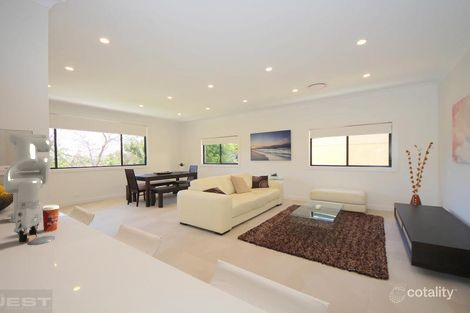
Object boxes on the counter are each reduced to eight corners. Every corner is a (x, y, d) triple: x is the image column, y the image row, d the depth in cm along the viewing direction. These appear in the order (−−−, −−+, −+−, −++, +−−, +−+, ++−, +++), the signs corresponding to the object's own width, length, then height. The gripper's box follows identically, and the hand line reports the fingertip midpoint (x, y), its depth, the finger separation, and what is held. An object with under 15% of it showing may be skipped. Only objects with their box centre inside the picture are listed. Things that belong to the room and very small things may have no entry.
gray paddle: (59, 237, 112) (59, 232, 111) (45, 245, 102) (45, 240, 102) (31, 237, 110) (32, 232, 110) (14, 246, 100) (14, 240, 100)
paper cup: (50, 232, 116) (51, 208, 116) (37, 232, 116) (37, 207, 116) (62, 227, 124) (63, 204, 124) (50, 227, 124) (50, 204, 124)
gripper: (22, 208, 97) (21, 246, 97) (49, 200, 114) (49, 233, 114) (3, 208, 96) (3, 247, 96) (34, 200, 113) (33, 233, 113)
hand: (28, 239), depth 105 cm, fingers open, 5 cm apart
